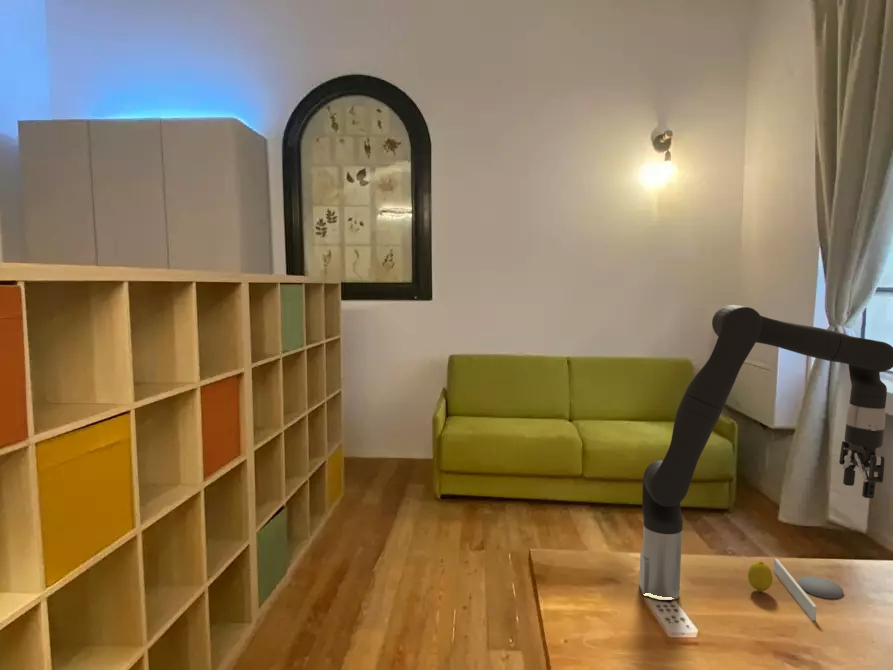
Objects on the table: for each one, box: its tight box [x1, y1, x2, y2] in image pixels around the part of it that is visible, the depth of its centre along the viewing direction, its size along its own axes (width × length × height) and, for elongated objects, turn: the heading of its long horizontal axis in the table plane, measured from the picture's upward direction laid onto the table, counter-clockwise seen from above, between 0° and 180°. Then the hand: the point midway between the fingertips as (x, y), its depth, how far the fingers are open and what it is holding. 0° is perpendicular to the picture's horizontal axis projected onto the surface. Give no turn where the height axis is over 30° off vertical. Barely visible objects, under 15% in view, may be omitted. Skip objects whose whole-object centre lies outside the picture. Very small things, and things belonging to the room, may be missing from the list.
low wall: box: [772, 558, 818, 622], centre depth 156 cm, size 1×24×4 cm, turn 172°
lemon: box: [747, 560, 774, 593], centre depth 157 cm, size 6×6×8 cm
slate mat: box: [797, 575, 844, 600], centre depth 159 cm, size 10×10×1 cm
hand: (857, 491), depth 148 cm, fingers open, 8 cm apart
